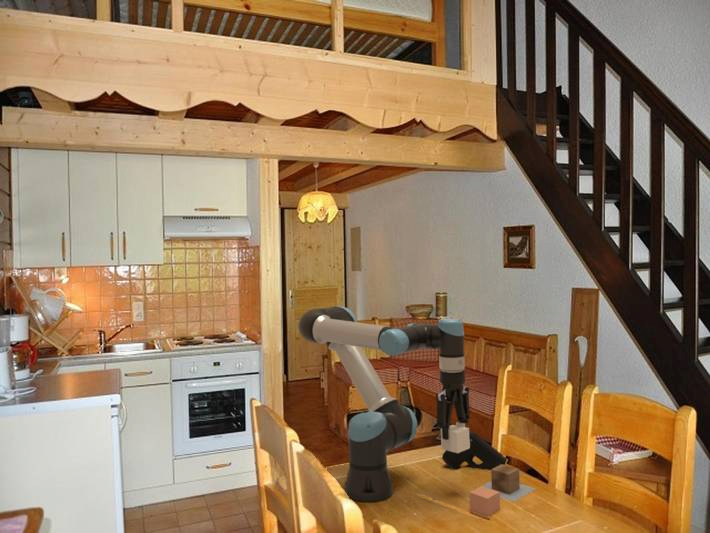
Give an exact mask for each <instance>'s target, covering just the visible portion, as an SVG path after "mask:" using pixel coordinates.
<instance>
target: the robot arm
mask: <svg viewBox="0 0 710 533" xmlns="http://www.w3.org/2000/svg"><path fill="white" fill-rule="evenodd" d="M297 327H298V331H299V334H300V336H301V337H302V339H304V340H305V341H306V342H309V343H315V344H321V345H323V344H326V346H327V348H328V350H330V351H333V352H335V353H336V355H337V357H338V358H339V360H340V362H341V364H342V366H343V367H344V369H345V371H346V373H347V374H348V376H349V378H350V380H351V382H352V383H353V385H354V387H355V388H356V390H357V392H358V393H359V395H360V397H361V399H362V401H363V403H364V404H365V407H366V408H367V410H368V411H367V412H360V413H358V414H355V415H354V416H353V417H352V418H351V419H350V420H349V422H348V431H347V436H348V457H349V459H348V460H349V462H348V463H349V467H348V471H347V474H346V480H345V481H344V488H343V489H344V490H345V492H346V493H347V495H348V496H349V497H350V498H351V499H350V498H349V499H350V500H354V501H357V502H363V503H367V502H368V503H373V502H380V501H383V500H386V499H388V498H390V497H391V496H392V495H393V494H394V484H393V480H392V478H391V475H390V472H389V469H388V468H389V467H388V464H387V462H388V460H387V459H388V458H387V453H388V452H390V451H392V450H394V449H397V448H400V447H401V446H402V447H404V446H405V445H407V444H408V443H409V442H411V441H412V440H414V438H415V437H416V434H417V430H418V421H417V418H416V415H415V413H414V411H412V410H411V409H410V408H409V407H406V406H404V405H403V406H402V405H401V403H400V401H399V400H398V399H397V398H396V397H392V396H391V395H390V394H389V392H388V390H387V389H386V387H385V385H384V383H383V382H382V380H381V379H380V377H379V375H378V373H377V372H376V370H375V369H374V366H373V365H372V363H371V362H370V360H369V358H368V356H367V355H366V353H365V350H363V349H368V350H369V349H370V350H375V351H376V350H377V351H382V352H383V353H384V354H385V355H387V356H400V355H402V354H406V353H410V352H414V351H419V350H422V349H429V350H438V356H439V357H438V358H439V359H438V361H439V362H438V363H439V364H438V366H439V370H440V371H439V382H440V384H441V385H442V389H441V392H440V393H436V394H435V397H436V398H435V399H436V426H437V428H440V429H442V438H443V449H445V450H444V451H446V450H449V451H452V428H450V426H451V422H452V421H451V420H452V413H453V408H454V409H455V413H456V418H457V422H455V425H456V426H461V427H466V424H469V420H470V419H471V413H470V412H471V411H470V410H471V409H470V400H469V399H470V396H469V394H470V387H469V386H464V385H465V384H466V383H465V382H466V372H465V368H466V366H465V365H466V364H465V331H464V330H465V329H464V322H463V320H462V319H461V318H455V317H453V318H451V317H450V318H449V317H448V318H447V317H446V318H440V319H439V320H438V323H437V324H425V323H419V322H417V323H409V324H407V325H406V326H403V327H396V326H395V327H394V326H387V325H380V324H373V323H363V322H358V321H357V318H356V316H355V314H354V313H353V312H352V310H350V309H349V308H347V307H345V306H339V305H337V306H336V305H335V306H330V307H322V308H312V309H309V310H307V311H306V312H305V313H303V314H302V315H301V317H300V318H299V321H298V326H297ZM466 428H467V427H466ZM443 449H442V450H443Z"/></svg>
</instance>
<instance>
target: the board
mask: <svg viewBox="0 0 710 533" xmlns="http://www.w3.org/2000/svg"><path fill="white" fill-rule="evenodd" d="M482 486H483V487H486V488H489V489H492V482H491V480H490V481H488V482H486V483H485V484H483V485H482ZM492 490H493V489H492ZM534 490H536V487H532V486H529V485H526V484H522V483H520V489H518V490H516V491H515V492H513V493H511V494H510V495H509V494H506V493H502V492H500V499H504V500H506V501H510V502H513V503H514V502H516V501H518V500H520V499H522V498H523V497H525V496H527V494H530V493H531V492H533V491H534ZM495 491H496V490H495ZM498 492H499V491H498Z"/></svg>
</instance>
